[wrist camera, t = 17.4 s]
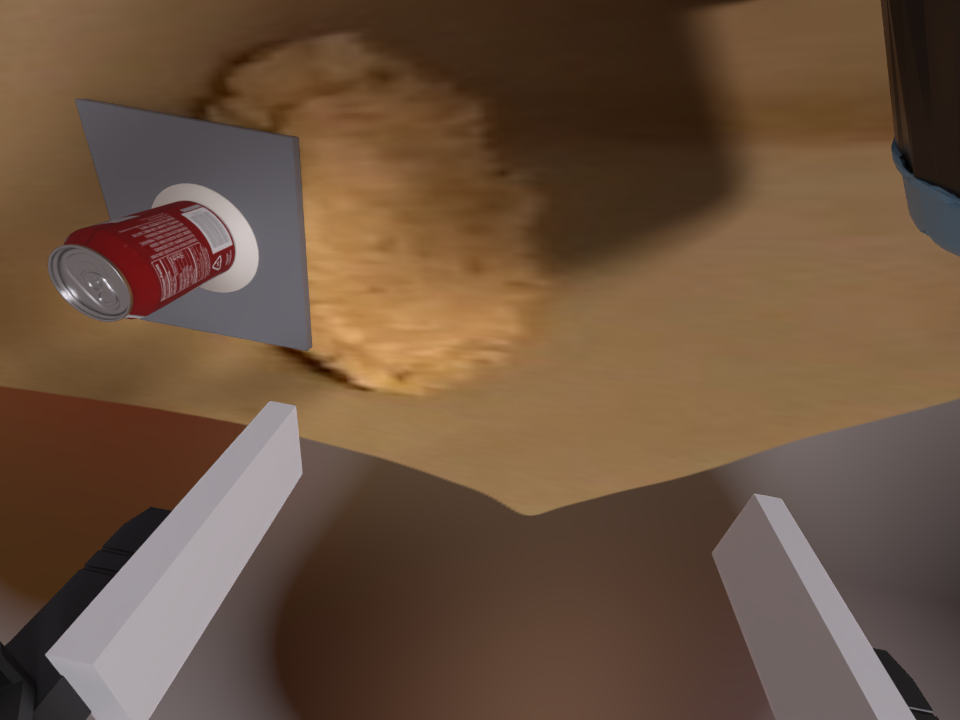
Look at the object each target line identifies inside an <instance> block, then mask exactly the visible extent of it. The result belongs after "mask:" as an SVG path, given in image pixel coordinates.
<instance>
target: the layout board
mask: <svg viewBox="0 0 960 720" xmlns="http://www.w3.org/2000/svg"><path fill="white" fill-rule="evenodd" d="M75 102H76V105H77V108H78V112H79V115H80V118H81V122H82V125H83V129H84V132H85V135H86V139H87V142H88V145H89V149H90V152H91V155H92V159H93V162H94V165H95V169H96V172H97V176H98V179H99V182H100V186H101V189H102V192H103V196H104V199H105V202H106V206H107V209H108V213H109V216H110V219H111V220H114V219H117V218H121V217H124V216H128V215H131V214H135V213H138V212H142V211H145V210H149V209H152V208H156V207H159V206H163V205H166V204H170V203H173V202H177V201H182V200H189V201H195V202H198V203H201V204H203V205H205V206H207V207H209V208H210V209H212V210H213V211H214V212H215V213H217V214H218V215H219V216H220V217H221V218H222V219H223V220H224V222H225V223H226V224H227V226H228V227H229V229H230V231H231V233H232V235H233V237H234V240H235V244H236V258H235V262H234V264H233V265H232V267H231V268H230V269H229V270H228V271H227V272H225V273H223V274H222V275H220V276H218V277H216V278H214V279H213V280H211V281H209V282H207V283H205V284H204V285H202V286H200V287H198V288H196V289H195V290H193V291H191V292H189V293H188V294H186V295H184V296H182V297H180V298H179V299H177V300H175V301H173V302H171V303H170V304H168V305H166V306H164V307H162V308H161V309H159V310H157V311H155V312H153V313H152V314H150V315H148V316H146V317H143V318H140V319H141V320H146V321H151V322H157V323H162V324H167V325H173V326H178V327H183V328H189V329H194V330H199V331H204V332H210V333H215V334H220V335H226V336H231V337H236V338H241V339H247V340H252V341H257V342H263V343H268V344H273V345H278V346H284V347H289V348H294V349H300V350H305V351H308V350H309V349H310V348H311V347H312V337H311V322H310V307H309V291H308V276H307V261H306V246H305V230H304V215H303V200H302V185H301V169H300V154H299V139H298V137H294V136H289V135H283V134H278V133H272V132H267V131H261V130H255V129H250V128H244V127H239V126H233V125H228V124H222V123H216V122H211V121H205V120H200V119H194V118H189V117H183V116H177V115H172V114H166V113H161V112H155V111H150V110H144V109H138V108H133V107H127V106H122V105H116V104H111V103H105V102H99V101H94V100H88V99H75Z"/></svg>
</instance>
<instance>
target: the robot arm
mask: <svg viewBox="0 0 960 720" xmlns="http://www.w3.org/2000/svg"><path fill="white" fill-rule="evenodd" d="M881 8H882V17H883V27H884V37H885V46H886V56H887V66H888V75H889V85H890V94H891V104H892V114H893V123H894V133H895V136H894V140H893V143H892V146H891V149H892V157H893V161H894V163H895V165H896V168H897V169H898V170H899V172H900V173H901V174H902V177H903V182H904V188H905V193H906V198H907V204H908V209H909V213H910V215H911V218H912V220H913V221H914V223H915V225H916V226H917V228H918V229H919V230H920V231H921V232H923V233H924V234H926V235H928V236H930V237H931V238H932V240H933V241H934V242H935V243H936V244H938V245H939V246H940V247H941V248H943V249H945V250H946V251H948V252H950V253H953V254H955V255H957V256H960V0H881ZM302 474H303V473H302V463H301V454H300V443H299V432H298V421H297V411H296V406H294V405H289V404H284V403H279V402H274V401H269V402H268V403H267V405H266V406H265V407H264V408H263V409H262V410H261V411H260V412H259V414H258V415H257V416H256V417H255V418H254V419H253V420H252V421H251V423H250V424H249V425H248V426H247V427H246V428H245V429H244V431H243V432H242V433H241V434H240V435H239V436H238V437H237V438H236V440H235V441H234V442H233V443H232V444H231V445H230V446H229V447H228V449H227V450H226V451H225V452H224V453H223V454H222V456H221V457H220V458H219V459H218V460H217V461H216V462H215V463H214V464H213V466H212V467H211V468H210V469H209V470H208V471H207V472H206V474H205V475H204V476H203V477H202V478H201V479H200V480H199V481H198V483H197V484H196V485H195V486H194V487H193V488H192V489H191V491H190V492H189V493H188V494H187V495H186V496H185V497H184V498H183V500H182V501H181V502H180V503H179V504H178V505H177V506H176V507H175V508H174V510H173V511H169V510H164V509H159V508H154V507H150V508H149V509H147V510H145V511H144V512H142V513H141V514H139V515H138V516H136V517H134V518H133V519H131V520H130V521H128V522H126V523H125V524H124V525H123V526H122V527H121V528H120V529H119V530H118V531H117V532H116V533H115V534H114V535H113V536H112V537H111V538H110V539H109V540H108V541H107V542H106V543H105V544H104V545H103V548H102V550H100V551H97V552H96V553H95V554H94V555H93V556H92V558H91V559H90V560H89V561H88V562H87V563H86V564H85V566H84V568H83V569H80V570H79V571H78V572H77V573H76V574H75V575H74V576H73V577H72V578H71V579H70V580H69V581H68V582H67V583H66V585H64V586H63V587H62V588H61V590H59V592H57V594H56V595H55V596H54V597H53V598H52V599H51V600H50V601H49V602H48V603H47V604H46V605H45V606H44V607H43V608H42V609H41V610H40V611H39V612H38V613H37V614H36V615H35V616H34V617H33V618H32V619H31V620H30V621H29V622H28V623H27V624H26V625H25V626H24V628H23V629H22V630H21V631H20V632H19V633H18V634H17V635H16V636H15V637H14V638H13V639H12V640H11V641H10V642H9V643H8V644H6V645H5V646H4V645H3V644H2V643H1V642H0V720H86V718H87V717H88V716H89V714H90V713H91V714H92V715H93V716H94V718H95V719H96V720H148V719H149V718H150V716H151V715H152V713H153V711H154V710H155V708H156V707H157V705H158V703H159V702H160V700H161V699H162V697H163V696H164V694H165V692H166V691H167V689H168V687H169V686H170V684H171V683H172V681H173V680H174V678H175V676H176V675H177V673H178V672H179V670H180V668H181V667H182V665H183V663H184V662H185V660H186V659H187V657H188V656H189V654H190V652H191V651H192V649H193V648H194V646H195V644H196V643H197V641H198V640H199V638H200V636H201V635H202V633H203V632H204V630H205V628H206V627H207V625H208V624H209V622H210V620H211V619H212V617H213V616H214V614H215V612H216V611H217V609H218V608H219V606H220V605H221V603H222V601H223V600H224V598H225V596H226V595H227V593H228V592H229V590H230V589H231V587H232V585H233V584H234V582H235V581H236V579H237V577H238V575H239V574H240V572H241V571H242V569H243V568H244V566H245V565H246V563H247V561H248V560H249V558H250V556H251V555H252V553H253V552H254V550H255V549H256V547H257V545H258V544H259V542H260V540H261V539H262V537H263V536H264V534H265V533H266V531H267V529H268V528H269V526H270V525H271V523H272V521H273V520H274V518H275V517H276V515H277V514H278V512H279V510H280V509H281V507H282V505H283V504H284V502H285V501H286V499H287V498H288V496H289V494H290V493H291V491H292V490H293V488H294V486H295V485H296V483H297V481H298V480H299V478H300V476H301V475H302ZM712 555H713V558H714V560H715V563H716V566H717V568H718V571H719V573H720V576H721V579H722V581H723V584H724V586H725V589H726V591H727V594H728V597H729V599H730V602H731V604H732V607H733V610H734V612H735V615H736V618H737V620H738V623H739V625H740V628H741V630H742V633H743V636H744V639H745V641H746V644H747V646H748V649H749V651H750V654H751V657H752V659H753V662H754V665H755V667H756V670H757V672H758V675H759V678H760V680H761V683H762V685H763V688H764V690H765V693H766V696H767V698H768V701H769V704H770V706H771V709H772V711H773V714H774V717H775V719H776V720H939V719H938V718H937V717H935V716H934V715H933V713H932V711H933V710H932V708H931V707H930V705H929V704H928V702H927V701H926V699H925V697H924V696H923V694H922V693H921V691H920V690H919V688H918V687H917V685H916V683H915V682H914V681H913V679H912V678H911V677H910V676H909V675H908V674H907V673H906V671H905V670H904V669H903V668H902V667H901V666H900V665H899V664H898V663H897V662H896V661H895V660H894V659H893V657H891V655H890V654H889V653H888V652H887V651H885V650H880V649H875V648H872V647H871V645H870V643H869V642H868V640H867V638H866V637H865V635H864V634H863V632H862V630H861V629H860V627H859V625H858V624H857V622H856V620H855V619H854V617H853V616H852V614H851V612H850V611H849V609H848V607H847V606H846V604H845V603H844V601H843V599H842V597H841V596H840V594H839V593H838V591H837V589H836V588H835V586H834V584H833V583H832V581H831V580H830V578H829V576H828V574H827V573H826V571H825V570H824V568H823V566H822V565H821V563H820V561H819V560H818V558H817V557H816V555H815V553H814V552H813V550H812V548H811V547H810V545H809V544H808V542H807V540H806V538H805V537H804V535H803V534H802V532H801V530H800V529H799V527H798V525H797V524H796V522H795V520H794V519H793V517H792V515H791V514H790V512H789V511H788V509H787V507H786V506H785V504H784V502H783V501H782V499H780V498H774V497H770V496H764V495H759V494H753V496H752V497H751V498H750V500H749V502H748V503H747V504H746V506H745V507H744V508H743V510H742V511H741V513H740V514H739V515H738V517H737V518H736V520H735V521H734V522H733V524H732V526H731V527H730V528H729V530H728V531H727V532H726V534H725V535H724V537H723V538H722V540H721V541H720V542H719V544H718V545H717V547H716V548H715V550H714V551H713V552H712Z"/></svg>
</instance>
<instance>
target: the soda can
mask: <svg viewBox="0 0 960 720" xmlns="http://www.w3.org/2000/svg"><path fill="white" fill-rule="evenodd" d="M235 258H236V244H235V240H234V237H233V235H232V233H231V231H230V229H229V227H228V226H227V224H226V223H225V222H224V220H223V219H222V218H221V217H220V216H219V215H218V214H217V213H215V212H214V211H213V210H212V209H210V208H209V207H207V206H205V205H203V204H201V203H198V202H195V201H189V200H182V201H177V202H173V203H170V204H166V205H163V206H159V207H156V208H152V209H149V210H145V211H142V212H138V213H135V214H131V215H128V216H124V217H121V218H117V219H114V220H110V221H107V222H103V223H100V224H96V225H93V226H89V227H86V228H82V229H79V230H77V231H75V232H73V233H71V234H70V235H69V236H68V237H67V238H66V240H65V242H64V244H63V246H60V247H58V248H56V249H55V250H53V251H52V253H51V254H50V256H49V259H48V271H49V275H50V278H51V280H52V282H53V284H54V286H55V288H56V289H57V291H58V292H59V293H60V295H61V296H62V297H63V298H64V299H65V300H66V301H67V302H68V303H69V304H70V305H71V306H72V307H74V308H75V309H76V310H78V311H79V312H81V313H83V314H84V315H86V316H88V317H91V318H93V319H96V320H99V321H105V322H114V321H118V320H121V319H123V318H125V319H139V318H143V317H146V316H148V315H150V314H152V313H153V312H155V311H157V310H159V309H161V308H162V307H164V306H166V305H168V304H170V303H171V302H173V301H175V300H177V299H179V298H180V297H182V296H184V295H186V294H188V293H189V292H191V291H193V290H195V289H196V288H198V287H200V286H202V285H204V284H205V283H207V282H209V281H211V280H213V279H214V278H216V277H218V276H220V275H222V274H223V273H225V272H227V271H228V270H229V269H230V268H231V267H232V265H233V264H234V262H235Z"/></svg>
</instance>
